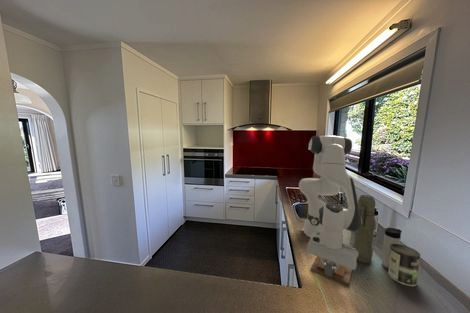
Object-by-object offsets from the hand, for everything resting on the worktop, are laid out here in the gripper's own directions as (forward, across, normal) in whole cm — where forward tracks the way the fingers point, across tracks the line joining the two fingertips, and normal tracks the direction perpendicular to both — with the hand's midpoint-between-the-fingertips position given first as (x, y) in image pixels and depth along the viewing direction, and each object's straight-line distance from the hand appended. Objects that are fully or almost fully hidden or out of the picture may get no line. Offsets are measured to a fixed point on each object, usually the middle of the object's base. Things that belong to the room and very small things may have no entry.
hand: (329, 269), depth 86 cm
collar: (+2, 0, -5) cm, 6 cm away
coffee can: (+4, -27, -22) cm, 35 cm away
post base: (+4, 0, -7) cm, 8 cm away
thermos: (+4, -11, -28) cm, 31 cm away
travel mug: (+4, -23, -30) cm, 38 cm away
